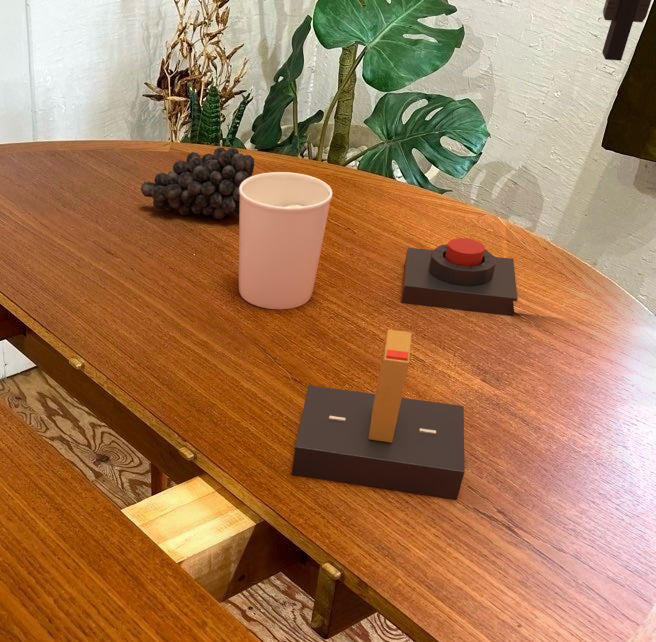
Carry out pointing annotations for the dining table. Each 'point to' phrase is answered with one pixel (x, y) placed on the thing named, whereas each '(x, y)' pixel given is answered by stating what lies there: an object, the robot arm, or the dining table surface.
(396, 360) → the tan upright plank
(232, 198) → the fruit
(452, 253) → the bell button
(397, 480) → the dark lever base block
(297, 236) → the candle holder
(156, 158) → the dining table surface
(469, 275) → the bell block
